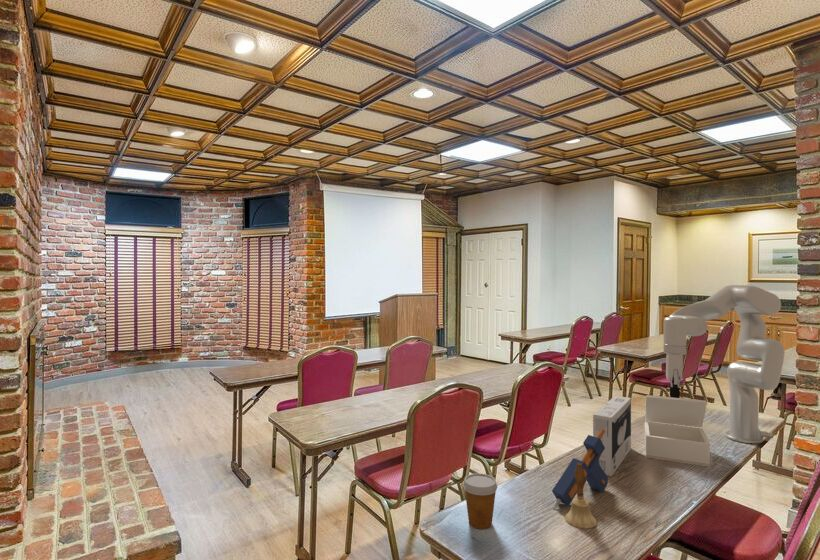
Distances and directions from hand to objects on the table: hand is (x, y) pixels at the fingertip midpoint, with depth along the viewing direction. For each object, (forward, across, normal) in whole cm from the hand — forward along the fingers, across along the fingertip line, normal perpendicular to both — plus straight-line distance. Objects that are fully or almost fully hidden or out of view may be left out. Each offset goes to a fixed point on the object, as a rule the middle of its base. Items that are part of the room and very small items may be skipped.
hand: (674, 397), depth 175 cm
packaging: (+21, +17, -21) cm, 34 cm away
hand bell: (+22, +66, -28) cm, 75 cm away
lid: (+6, -2, 0) cm, 6 cm away
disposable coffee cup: (+22, +79, -53) cm, 97 cm away
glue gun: (+22, +52, -29) cm, 63 cm away
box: (+21, +1, 0) cm, 21 cm away
